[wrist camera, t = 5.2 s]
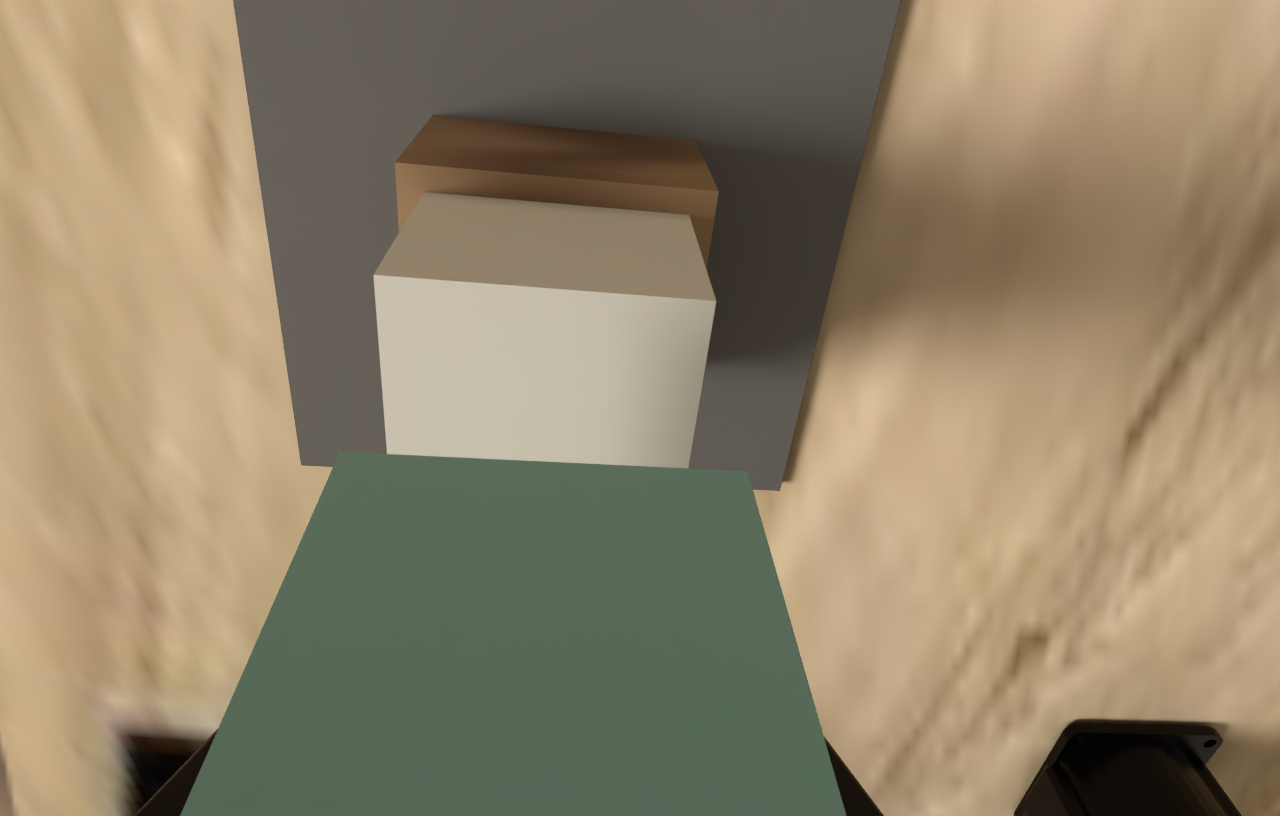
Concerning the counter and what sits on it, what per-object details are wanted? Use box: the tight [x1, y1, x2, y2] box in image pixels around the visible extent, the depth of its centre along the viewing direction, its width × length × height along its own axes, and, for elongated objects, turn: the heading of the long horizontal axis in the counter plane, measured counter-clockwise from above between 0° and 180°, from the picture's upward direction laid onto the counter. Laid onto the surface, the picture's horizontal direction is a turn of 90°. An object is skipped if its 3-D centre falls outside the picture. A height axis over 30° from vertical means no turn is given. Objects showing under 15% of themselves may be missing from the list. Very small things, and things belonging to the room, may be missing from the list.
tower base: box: [395, 115, 719, 270], centre depth 18 cm, size 6×6×4 cm
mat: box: [233, 0, 901, 491], centre depth 20 cm, size 14×14×1 cm
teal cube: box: [180, 452, 846, 816], centre depth 8 cm, size 4×4×4 cm
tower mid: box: [373, 192, 716, 468], centre depth 15 cm, size 5×5×4 cm
